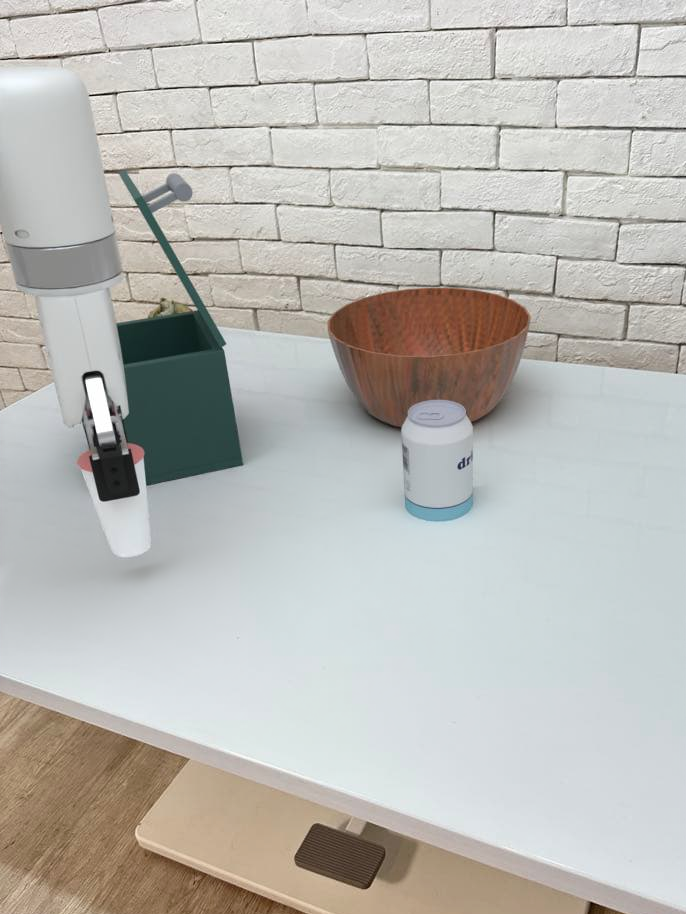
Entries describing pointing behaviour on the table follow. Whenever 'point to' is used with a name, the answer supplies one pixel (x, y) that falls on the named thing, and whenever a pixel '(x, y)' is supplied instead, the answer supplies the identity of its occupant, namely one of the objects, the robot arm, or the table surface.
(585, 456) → the table surface
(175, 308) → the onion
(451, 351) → the bowl
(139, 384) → the cooler
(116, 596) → the table surface
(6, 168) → the robot arm
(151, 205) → the lid
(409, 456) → the beverage can
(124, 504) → the cup
